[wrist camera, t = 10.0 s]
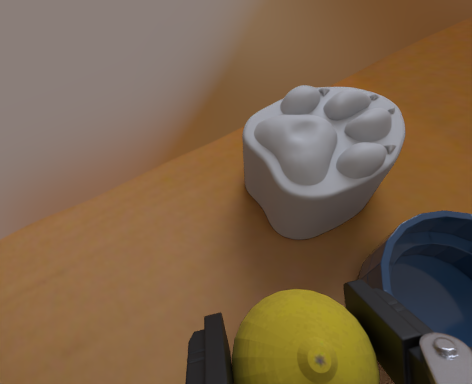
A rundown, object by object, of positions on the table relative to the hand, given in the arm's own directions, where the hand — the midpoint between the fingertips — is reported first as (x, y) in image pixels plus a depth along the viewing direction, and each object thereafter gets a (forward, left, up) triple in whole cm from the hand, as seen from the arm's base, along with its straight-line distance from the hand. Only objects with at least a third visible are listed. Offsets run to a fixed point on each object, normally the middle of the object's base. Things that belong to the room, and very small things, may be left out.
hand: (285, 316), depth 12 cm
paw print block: (+7, +13, -11) cm, 18 cm away
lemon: (0, -2, -4) cm, 5 cm away
